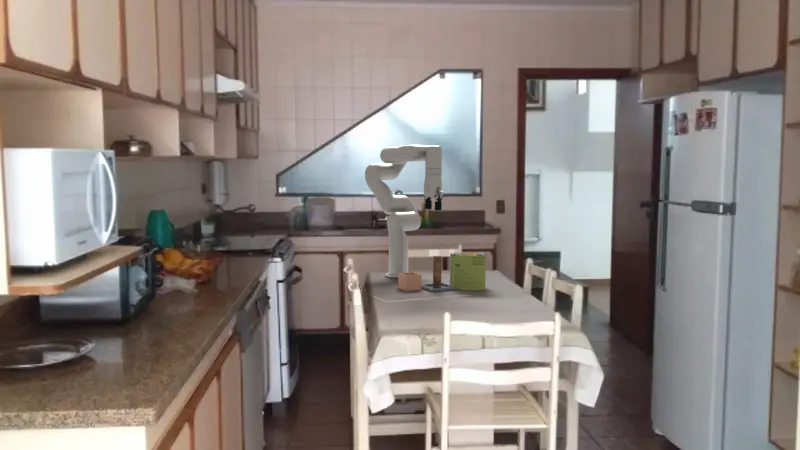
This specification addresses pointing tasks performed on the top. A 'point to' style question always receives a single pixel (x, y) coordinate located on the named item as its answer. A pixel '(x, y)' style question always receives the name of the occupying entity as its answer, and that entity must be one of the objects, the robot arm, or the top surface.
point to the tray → (443, 288)
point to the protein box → (467, 271)
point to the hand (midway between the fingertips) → (433, 209)
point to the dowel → (437, 271)
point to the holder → (409, 281)
